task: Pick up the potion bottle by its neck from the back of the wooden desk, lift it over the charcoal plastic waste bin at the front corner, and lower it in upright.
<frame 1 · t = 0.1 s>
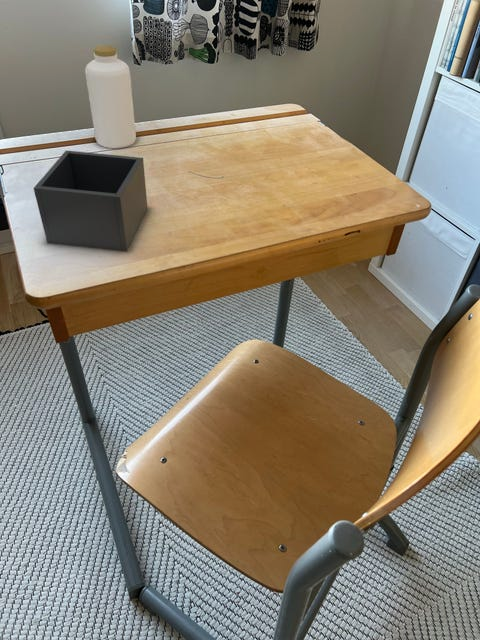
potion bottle: (116, 143, 107), on the table
waste bin: (100, 227, 83), on the table
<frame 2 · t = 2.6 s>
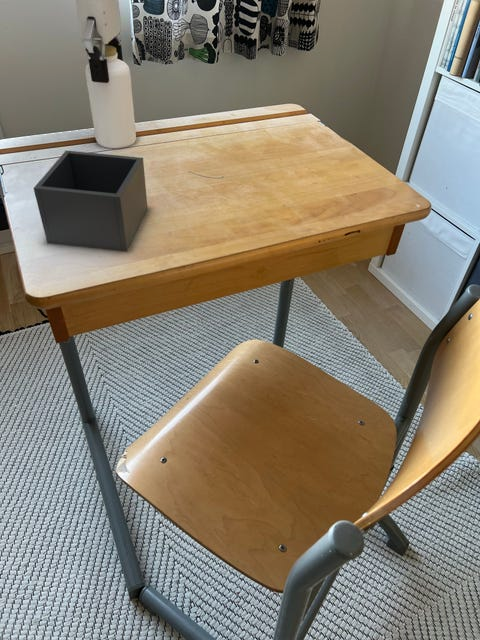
hand: (108, 73, 98), 14 cm above the table, tool pointing down, fingers closed on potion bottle, 8 cm apart
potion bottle: (116, 143, 107), on the table, touching gripper
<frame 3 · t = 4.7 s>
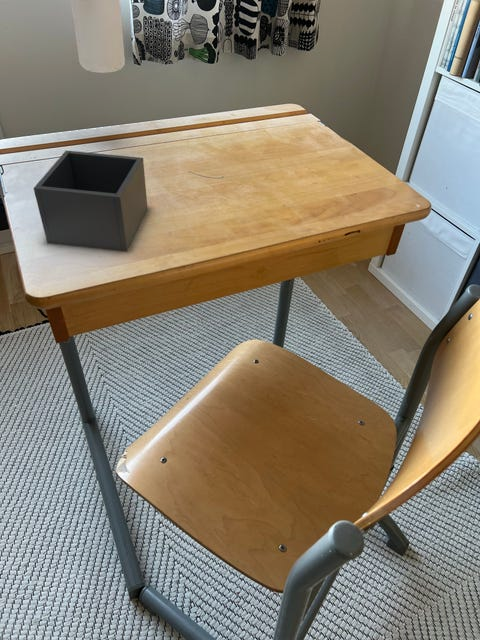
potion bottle: (103, 68, 96), point 15 cm above the table, touching gripper
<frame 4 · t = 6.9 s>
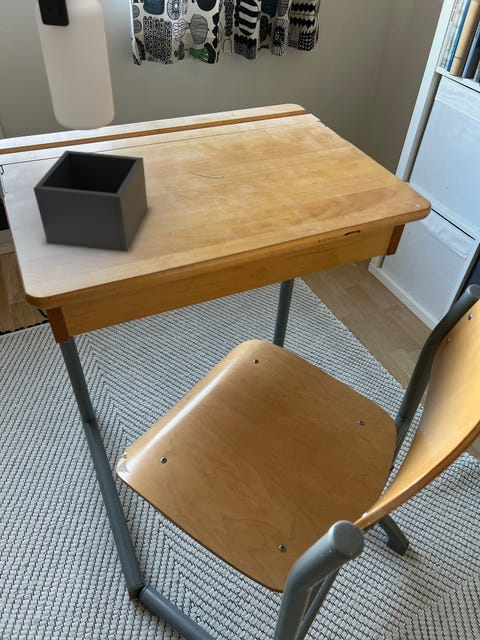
hand: (69, 15, 65), 30 cm above the table, tool pointing down, fingers closed on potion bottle, 8 cm apart
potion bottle: (86, 122, 75), point 16 cm above the table, touching gripper
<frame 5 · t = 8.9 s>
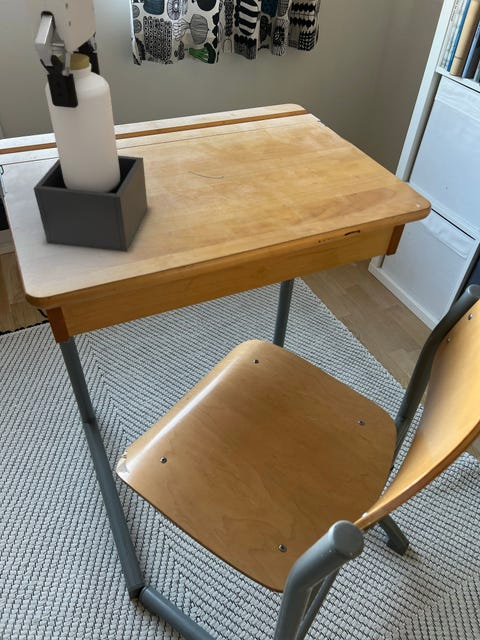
hand: (78, 93, 69), 21 cm above the table, tool pointing down, fingers closed on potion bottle, 8 cm apart
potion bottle: (93, 186, 78), point 7 cm above the table, touching gripper
when the fingers open (14 cm above the table, at t = 11.1 s): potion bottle stays where it is, resting on waste bin.
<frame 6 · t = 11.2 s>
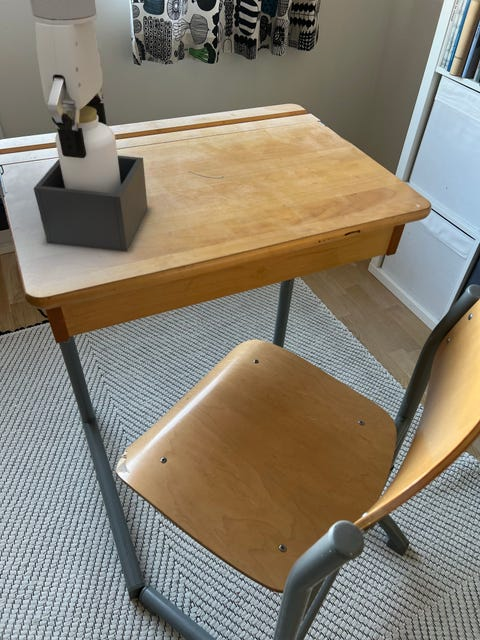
hand: (86, 142, 74), 14 cm above the table, tool pointing down, fingers open, 8 cm apart
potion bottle: (99, 224, 83), point 1 cm above the table, touching waste bin
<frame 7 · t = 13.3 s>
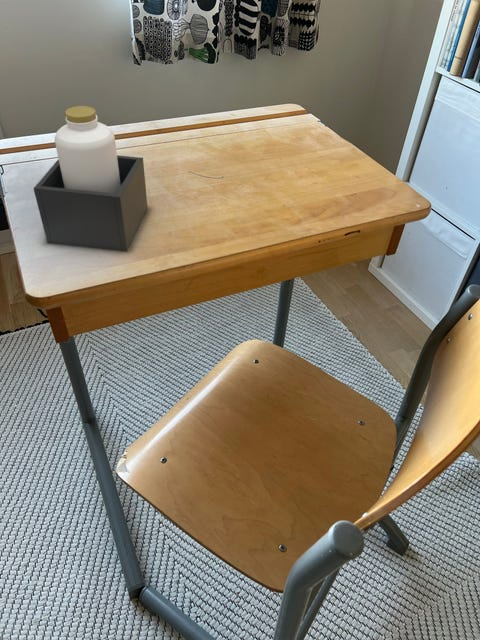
nothing on the table moved.
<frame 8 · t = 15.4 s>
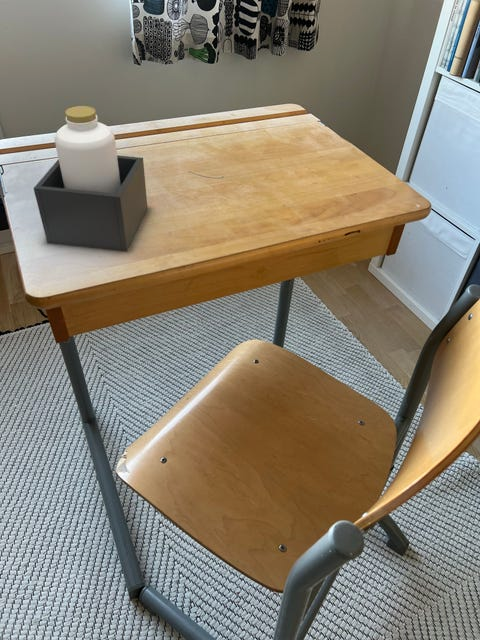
nothing on the table moved.
at the end: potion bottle inside the target area in the waste bin (0.1 cm from its centre), point 0.6 cm above the waste bin's base; the gripper is holding nothing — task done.
